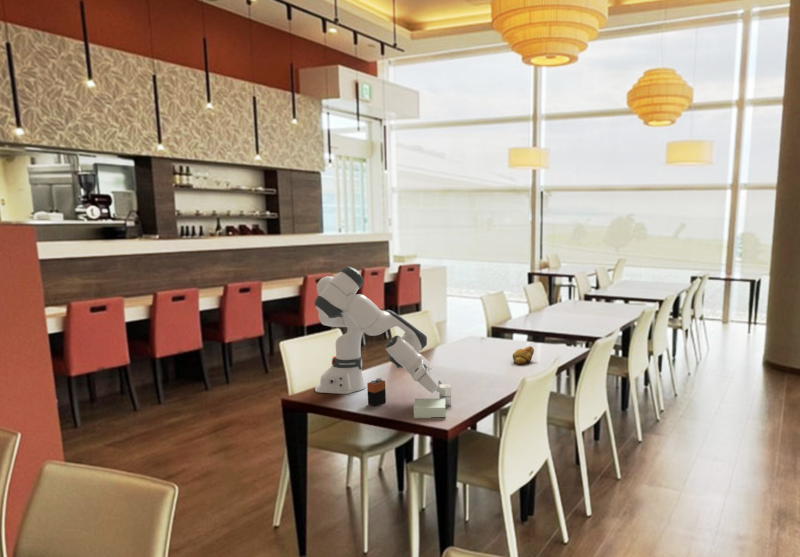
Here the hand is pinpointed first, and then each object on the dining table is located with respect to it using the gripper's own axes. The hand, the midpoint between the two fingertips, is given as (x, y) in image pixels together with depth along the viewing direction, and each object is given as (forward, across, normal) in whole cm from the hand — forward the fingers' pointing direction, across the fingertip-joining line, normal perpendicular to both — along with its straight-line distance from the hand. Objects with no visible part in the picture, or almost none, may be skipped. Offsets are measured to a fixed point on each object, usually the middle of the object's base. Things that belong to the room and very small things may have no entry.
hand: (444, 391), depth 223 cm
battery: (-16, -1, -23) cm, 28 cm away
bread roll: (+33, -66, +25) cm, 78 cm away
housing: (+4, 0, -4) cm, 5 cm away
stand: (0, +11, -8) cm, 13 cm away
